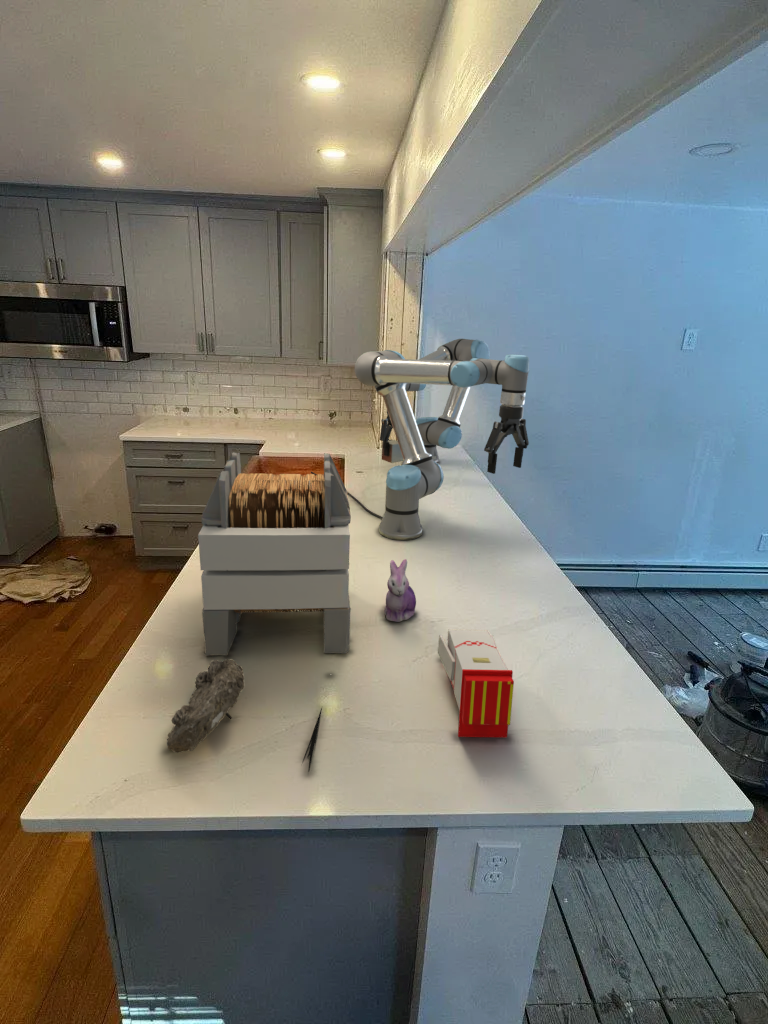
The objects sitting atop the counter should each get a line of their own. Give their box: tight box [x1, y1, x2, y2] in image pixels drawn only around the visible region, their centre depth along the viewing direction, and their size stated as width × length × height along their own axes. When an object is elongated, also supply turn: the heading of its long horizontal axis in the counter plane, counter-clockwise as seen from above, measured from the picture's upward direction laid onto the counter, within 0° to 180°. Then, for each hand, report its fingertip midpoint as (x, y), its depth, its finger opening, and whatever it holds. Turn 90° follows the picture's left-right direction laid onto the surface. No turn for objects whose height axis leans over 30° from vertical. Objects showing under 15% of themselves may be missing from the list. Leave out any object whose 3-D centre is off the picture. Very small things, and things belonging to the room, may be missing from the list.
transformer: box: [197, 451, 352, 657], centre depth 136 cm, size 34×33×41 cm
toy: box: [437, 628, 515, 738], centre depth 117 cm, size 12×13×30 cm
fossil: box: [166, 658, 245, 754], centre depth 106 cm, size 22×10×15 cm
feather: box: [301, 673, 332, 771], centre depth 108 cm, size 2×28×2 cm
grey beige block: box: [381, 439, 404, 464], centre depth 265 cm, size 8×7×9 cm
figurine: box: [384, 558, 417, 623], centre depth 145 cm, size 9×10×15 cm
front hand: (504, 469), depth 187 cm, fingers open, 13 cm apart
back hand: (392, 454), depth 265 cm, fingers closed on grey beige block, 7 cm apart
